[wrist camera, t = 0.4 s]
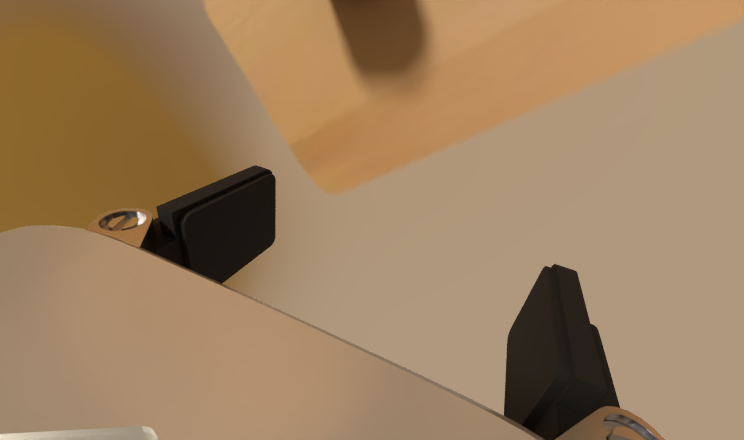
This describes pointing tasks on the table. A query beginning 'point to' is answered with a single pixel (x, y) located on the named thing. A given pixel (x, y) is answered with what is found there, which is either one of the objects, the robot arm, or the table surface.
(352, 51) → the table surface
